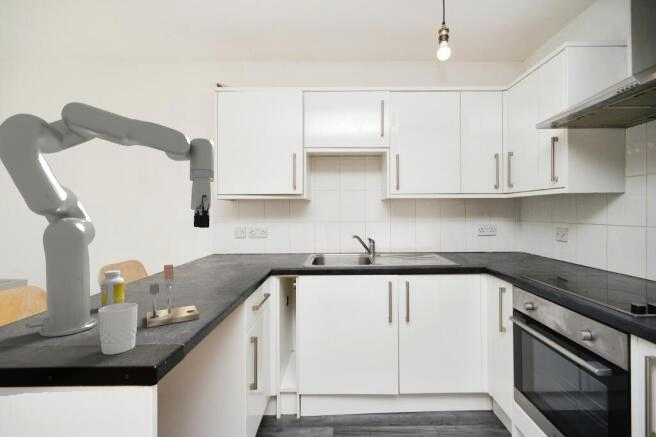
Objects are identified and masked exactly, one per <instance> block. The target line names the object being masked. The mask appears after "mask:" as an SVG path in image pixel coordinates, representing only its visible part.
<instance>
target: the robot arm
mask: <svg viewBox="0 0 656 437" xmlns="http://www.w3.org/2000/svg"><path fill="white" fill-rule="evenodd" d="M60 114H61V119H58V120H54V121H52V122H47V120H45V119H43V118H41V117H39V116H37V115H34V114H31V113H30V114H29V113H16V114H13V115H11V116H8V118H6V119H5V120H3V121H2V123H1V124H0V161H1V162H2V165H3V166H4V168H5V170H6V171H7V172H8V175H9V176H10V178H11V179H12V182H13V183H14V186H15V187H16V189H17V190H18V192H19V193H20V196H21V197H22V198H23V201H24V202H25V204H26V205H27V207H28V209H29V210H30V211H31V212H32V213H34V214H36V215H39V216H42V217H45V219H46V221H47V222H48V223H49V224H48V225H47V226H46V228H45V229H44V231H43V234H42V246H43V252H44V257H45V276H46V277H45V283H46V289H45V290H46V315H44V316H42V317H41V318H31V319H26V321H25V327H26V328H29V329H32V328H38V327H41V328H40V329H39V331H38V332H39V335H40V336H41V337H61V336H69V335H73V334H78V333H81V332H84V331H87V330H90V329H92V328H94V327H96V326H97V324H98V320H97V318H94V317H91V291H90V290H91V281H90V280H91V279H90V278H91V275H90V274H91V273H90V270H91V269H90V266H91V265H90V252H89V245H90V244H91V243H92V242H93V241H94V240H95V236H96V230H95V226H94V223H93V222H92V221H91V219H90V216H88V214H87V211H86V210H85V209H84V207H83V205H82V203H81V201H80V200H79V198H78V197H77V195H76V194H75V193H74V191H73V190H72V189H69V188H68V187H65V186H64V185H62V184H61V183H60V182H59V180H58V179H57V178H56V177H57V176H55V173H54V172H53V170H52V168H51V166H50V165H49V163H48V162H47V160H46V158H44V156H43V154H48V155H49V154H55V153H59V152H62V151H64V150H68V149H71V148H73V147H75V146H79V145H81V144H85V143H86V142H90V141H92V140H94V139H96V138H97V139H99V140H103V141H107V142H109V143H113V144H117V145H119V146H125V147H132V146H141V147H142V146H143V147H147V148H150V149H155V150H158V151H162V152H164V154H165V155H166V156H167V158H168V159H170V160H173V161H178V162H184V161H189V181H191V183H192V184H191V196H190V197H191V198H190V199H191V200H190V209H191V210H192V211H194V212H193V228H200V229H209V228H210V210H211V206H212V205H211V203H212V200H211V199H212V190H211V189H212V188H211V184H212V182H214V181H215V180H214V179H215V178H214V176H215V143H214V142H213V141H212V140H210V139H207V138H200V137H196V138H193V139H191V140H190V139H189V138H188V136H187V135H186V134H185V133H183V132H182V131H179V130H177V129H173V128H171V127H168V126H166V125H162V124H159V123H155V122H152V121H148V120H147V121H145V120H140V119H134V118H130V117H126V116H123V115H120V114H118V113H117V114H116V113H114V112H112V111H108V110H105V109H102V108H99V107H95V106H92V105H89V104H86V103H82V102H76V101H73V102H69V103H67V104H65V105H64V106H63V107H62V109H61V113H60Z"/></svg>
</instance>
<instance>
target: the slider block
mask: <svg viewBox="0 0 656 437" xmlns="http://www.w3.org/2000/svg"><path fill="white" fill-rule="evenodd" d="M175 281H176V280H175V277H174V264H163V277H162V283H163V284H162V285H167V288H168V289H167V309H168V314H169V313H171V309H172V288H171V284H175V283H176V282H175Z"/></svg>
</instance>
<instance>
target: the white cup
mask: <svg viewBox="0 0 656 437" xmlns="http://www.w3.org/2000/svg"><path fill="white" fill-rule="evenodd" d="M138 307H139V304H138V303H135V302H124V303H119V304H113V305H108V306H105V307H102V306H101V307H100V308H99V309H97V313H98V329H99V338H100V339H99V340H100V346H101V347H100V348H101V353H102V354H104V355H116V354H117V355H118V354H122V353H125V352H128V351H130V350H133V349H134V348H135V347H136V338H137V330H138V329H137V328H138V310H139V308H138Z"/></svg>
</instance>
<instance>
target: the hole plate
mask: <svg viewBox="0 0 656 437" xmlns="http://www.w3.org/2000/svg"><path fill="white" fill-rule="evenodd" d="M199 319H200V313H199V310H198V309H197V308H196V306H195V305H188V306H180V307H174V308H172V307H171V313H169V314H168V308H166V309H159V310H158V309H157V310H156V316H153V310H152V311H146V327H147V328H150V327H151V328H152V327H156V326H161V325H169V324H174V323H179V322H186V321H194V320H199Z"/></svg>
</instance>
